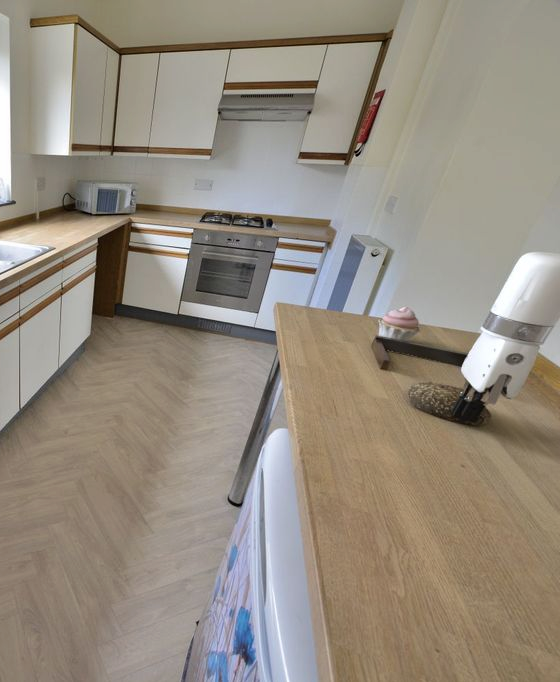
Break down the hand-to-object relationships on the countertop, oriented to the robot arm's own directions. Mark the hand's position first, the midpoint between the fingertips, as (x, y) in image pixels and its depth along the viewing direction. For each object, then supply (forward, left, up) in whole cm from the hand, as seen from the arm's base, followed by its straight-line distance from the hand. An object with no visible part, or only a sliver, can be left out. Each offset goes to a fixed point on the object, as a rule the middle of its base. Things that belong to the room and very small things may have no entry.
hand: (462, 418), depth 76 cm
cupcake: (+4, -44, -2) cm, 44 cm away
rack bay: (0, -28, -2) cm, 28 cm away
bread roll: (0, -7, -2) cm, 7 cm away
